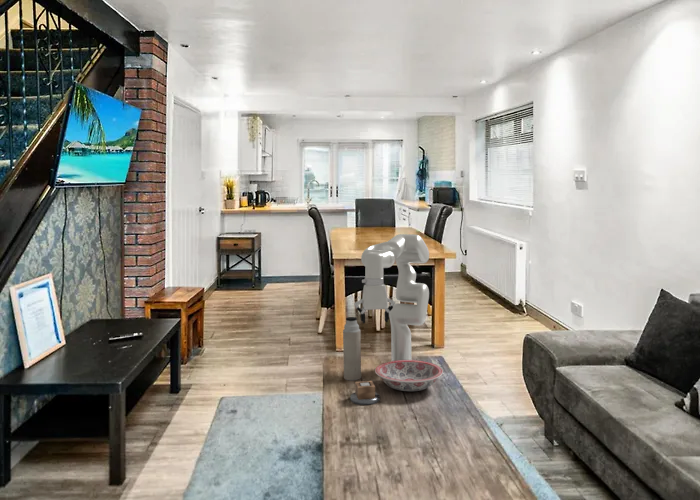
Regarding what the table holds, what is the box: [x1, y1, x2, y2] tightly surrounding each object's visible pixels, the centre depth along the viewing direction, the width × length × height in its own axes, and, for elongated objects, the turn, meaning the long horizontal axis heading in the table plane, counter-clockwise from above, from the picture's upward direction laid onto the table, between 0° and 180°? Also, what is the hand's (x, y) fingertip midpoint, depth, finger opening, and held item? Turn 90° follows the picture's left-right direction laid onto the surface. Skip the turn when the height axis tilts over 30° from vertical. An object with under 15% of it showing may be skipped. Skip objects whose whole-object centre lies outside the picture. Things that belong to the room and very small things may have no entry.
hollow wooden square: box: [354, 380, 376, 400], centre depth 231 cm, size 7×7×5 cm
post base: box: [349, 382, 381, 406], centre depth 231 cm, size 12×12×6 cm
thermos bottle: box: [342, 316, 362, 381], centre depth 257 cm, size 8×8×28 cm
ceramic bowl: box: [374, 359, 444, 392], centre depth 244 cm, size 29×29×8 cm
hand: (374, 322), depth 237 cm, fingers open, 9 cm apart
